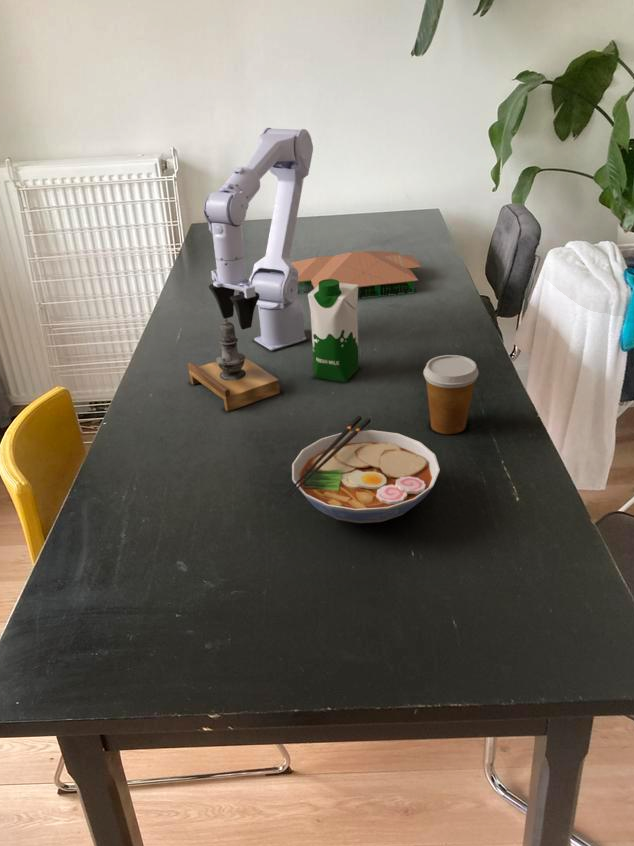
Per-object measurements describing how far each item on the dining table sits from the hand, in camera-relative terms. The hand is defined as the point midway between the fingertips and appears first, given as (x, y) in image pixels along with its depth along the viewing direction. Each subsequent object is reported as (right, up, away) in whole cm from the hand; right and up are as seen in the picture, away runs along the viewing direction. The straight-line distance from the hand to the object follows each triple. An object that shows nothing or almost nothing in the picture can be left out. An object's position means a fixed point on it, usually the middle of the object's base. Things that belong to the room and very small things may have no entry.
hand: (237, 322), depth 166 cm
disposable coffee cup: (+40, -23, -19) cm, 50 cm away
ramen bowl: (+24, -38, -38) cm, 59 cm away
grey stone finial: (-1, -11, -3) cm, 12 cm away
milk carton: (+21, -10, +2) cm, 23 cm away
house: (+27, +20, +44) cm, 55 cm away
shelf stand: (0, -14, -1) cm, 14 cm away
